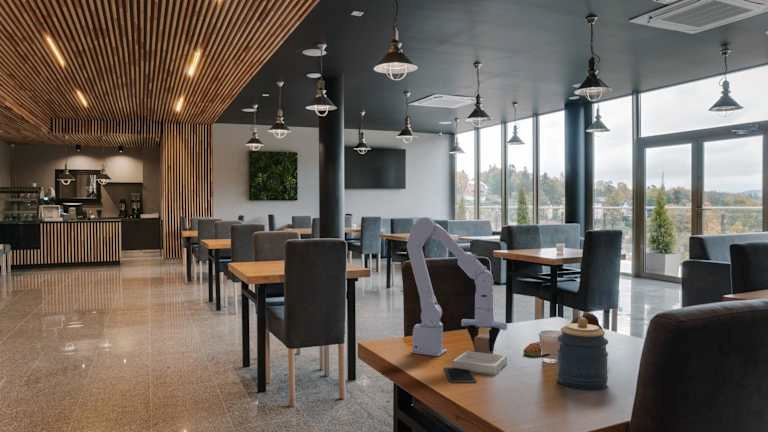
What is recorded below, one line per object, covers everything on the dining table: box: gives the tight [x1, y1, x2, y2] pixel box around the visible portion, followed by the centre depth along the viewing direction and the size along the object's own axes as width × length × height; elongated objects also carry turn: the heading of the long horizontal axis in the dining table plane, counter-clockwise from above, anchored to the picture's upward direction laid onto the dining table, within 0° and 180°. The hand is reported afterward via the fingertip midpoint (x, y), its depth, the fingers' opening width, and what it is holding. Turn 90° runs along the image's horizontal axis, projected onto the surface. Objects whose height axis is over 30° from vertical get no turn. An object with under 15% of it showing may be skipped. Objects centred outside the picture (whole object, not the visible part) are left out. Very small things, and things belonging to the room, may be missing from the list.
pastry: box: [523, 341, 542, 358], centre depth 179 cm, size 9×7×4 cm
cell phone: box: [443, 366, 477, 384], centre depth 155 cm, size 7×14×1 cm, turn 1°
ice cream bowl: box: [570, 312, 606, 337], centre depth 170 cm, size 11×11×15 cm
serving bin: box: [452, 350, 508, 376], centre depth 164 cm, size 13×13×2 cm
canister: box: [556, 318, 609, 391], centre depth 149 cm, size 13×13×18 cm
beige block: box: [473, 333, 494, 354], centre depth 177 cm, size 4×6×6 cm
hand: (483, 350), depth 177 cm, fingers closed on beige block, 4 cm apart
